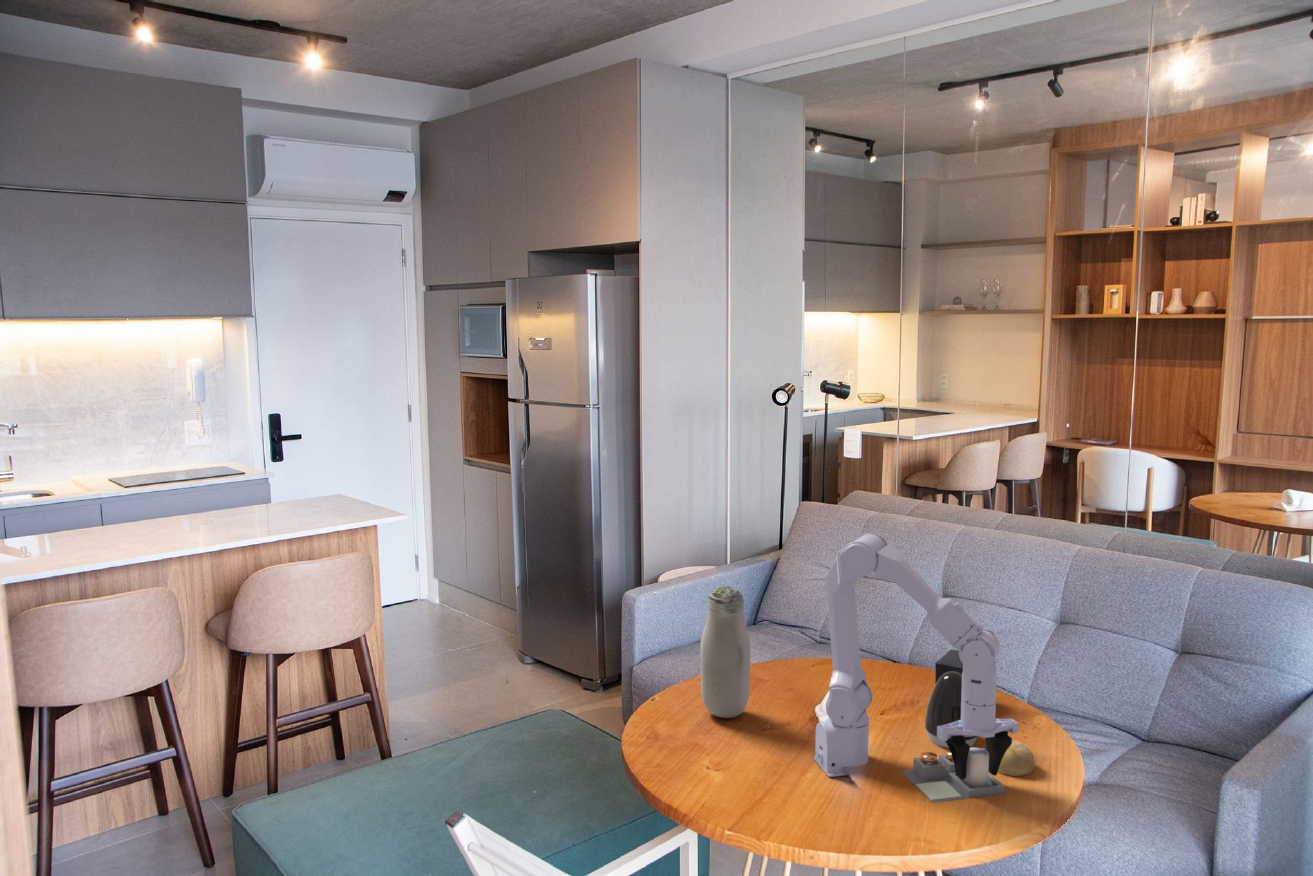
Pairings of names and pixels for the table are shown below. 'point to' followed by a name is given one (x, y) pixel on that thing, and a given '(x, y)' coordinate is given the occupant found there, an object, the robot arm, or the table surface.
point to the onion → (1017, 760)
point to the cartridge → (977, 768)
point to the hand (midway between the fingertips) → (976, 774)
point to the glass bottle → (725, 654)
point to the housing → (947, 781)
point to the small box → (948, 664)
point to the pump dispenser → (945, 707)
